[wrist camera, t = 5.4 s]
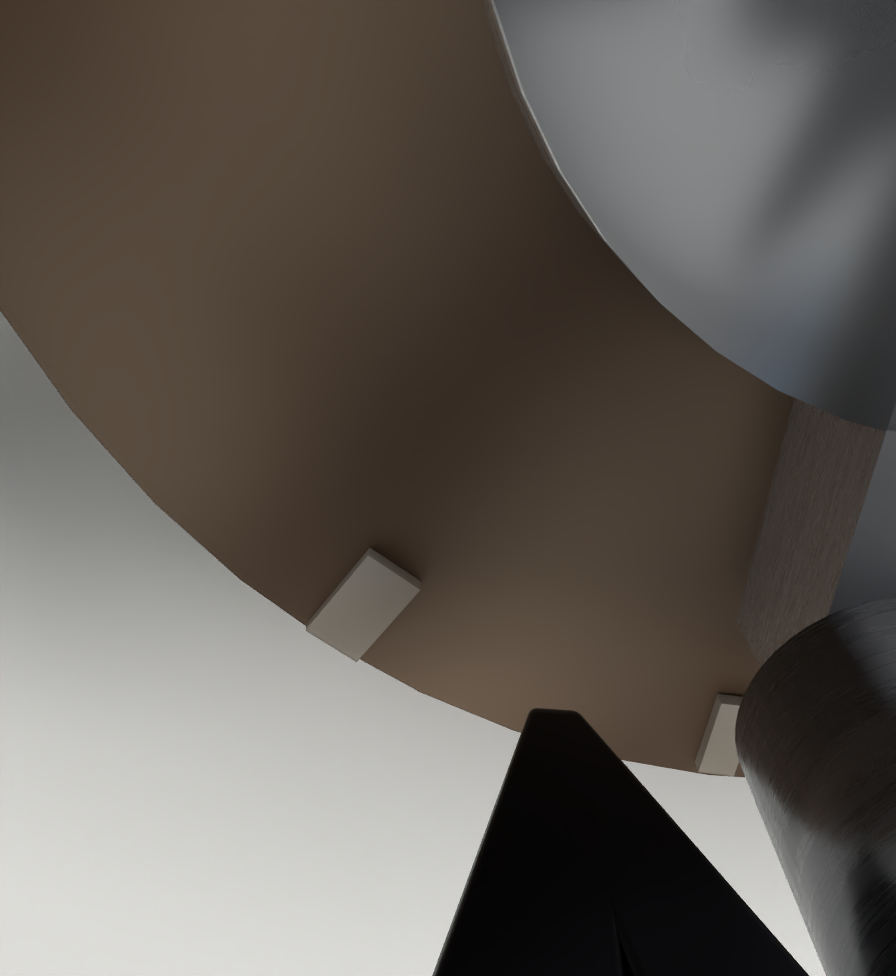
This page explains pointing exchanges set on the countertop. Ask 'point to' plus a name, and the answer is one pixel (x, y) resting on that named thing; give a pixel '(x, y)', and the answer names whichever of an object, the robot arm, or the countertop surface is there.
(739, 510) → the dial base plate
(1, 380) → the countertop surface
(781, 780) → the dial
